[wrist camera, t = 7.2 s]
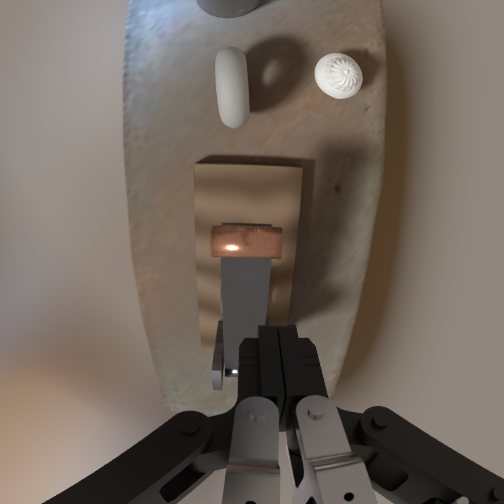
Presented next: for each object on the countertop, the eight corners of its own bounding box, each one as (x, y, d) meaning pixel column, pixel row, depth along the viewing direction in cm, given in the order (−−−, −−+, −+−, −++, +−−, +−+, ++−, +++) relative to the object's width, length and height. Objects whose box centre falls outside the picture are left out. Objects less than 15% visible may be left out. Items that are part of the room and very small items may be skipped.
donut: (250, 126, 38) (251, 127, 29) (224, 128, 38) (216, 130, 29) (245, 55, 34) (244, 35, 25) (219, 58, 34) (210, 38, 25)
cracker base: (196, 162, 40) (174, 179, 28) (300, 165, 40) (322, 184, 28) (202, 340, 52) (193, 396, 40) (283, 342, 52) (290, 399, 40)
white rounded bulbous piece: (310, 55, 34) (321, 43, 27) (353, 61, 34) (372, 52, 27) (308, 97, 36) (320, 93, 30) (352, 103, 36) (371, 100, 30)
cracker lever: (216, 205, 31) (209, 235, 26) (278, 206, 32) (283, 238, 27) (221, 350, 45) (219, 383, 40) (263, 351, 45) (265, 384, 40)
